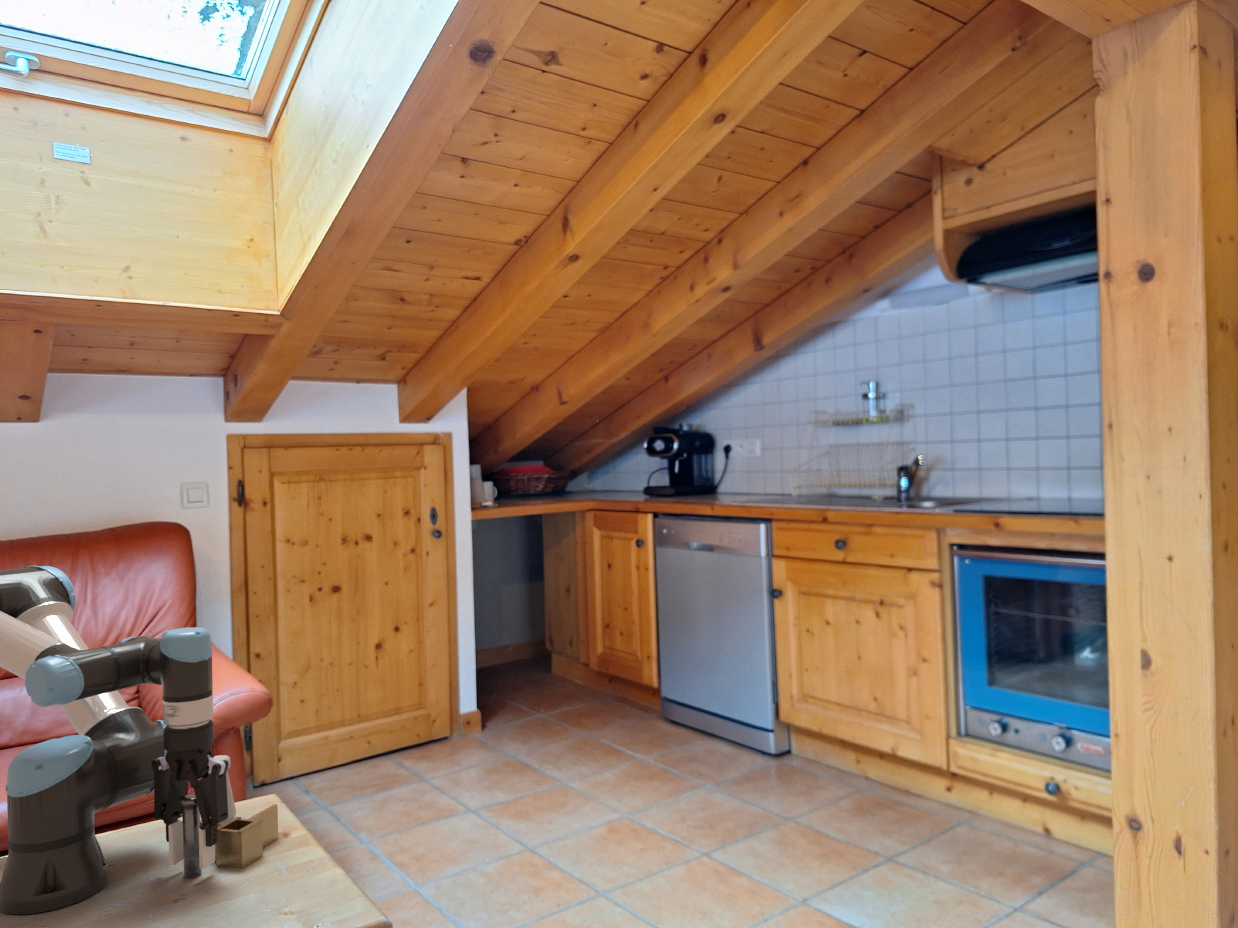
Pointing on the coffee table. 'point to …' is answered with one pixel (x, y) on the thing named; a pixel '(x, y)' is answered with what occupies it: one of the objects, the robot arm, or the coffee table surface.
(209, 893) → the coffee table surface
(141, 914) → the coffee table surface
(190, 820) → the hinge pin
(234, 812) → the salt shaker
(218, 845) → the hinge
